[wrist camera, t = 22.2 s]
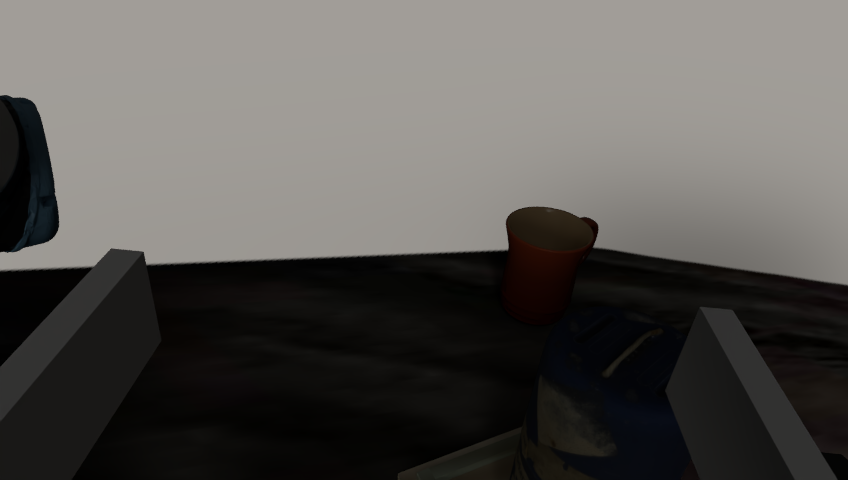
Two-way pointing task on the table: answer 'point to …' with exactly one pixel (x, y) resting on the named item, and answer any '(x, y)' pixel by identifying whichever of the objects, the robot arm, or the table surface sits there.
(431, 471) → the square tray
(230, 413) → the table surface
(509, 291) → the mug
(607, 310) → the canister
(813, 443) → the robot arm
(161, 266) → the table surface
